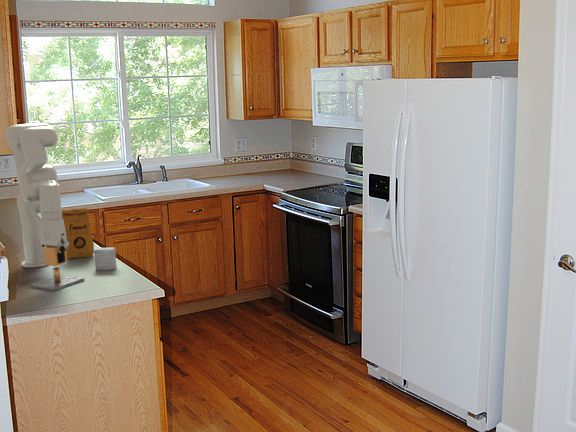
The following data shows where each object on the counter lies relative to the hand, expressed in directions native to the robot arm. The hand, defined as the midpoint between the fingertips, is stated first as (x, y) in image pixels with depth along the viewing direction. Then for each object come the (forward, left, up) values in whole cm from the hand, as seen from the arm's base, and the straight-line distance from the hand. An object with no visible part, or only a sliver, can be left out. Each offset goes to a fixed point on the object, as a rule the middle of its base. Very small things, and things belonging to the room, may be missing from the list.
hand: (55, 261), depth 269 cm
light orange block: (0, 0, -1) cm, 1 cm away
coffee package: (-42, +4, -9) cm, 43 cm away
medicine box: (-18, +17, -9) cm, 27 cm away
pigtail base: (0, 0, -9) cm, 9 cm away
